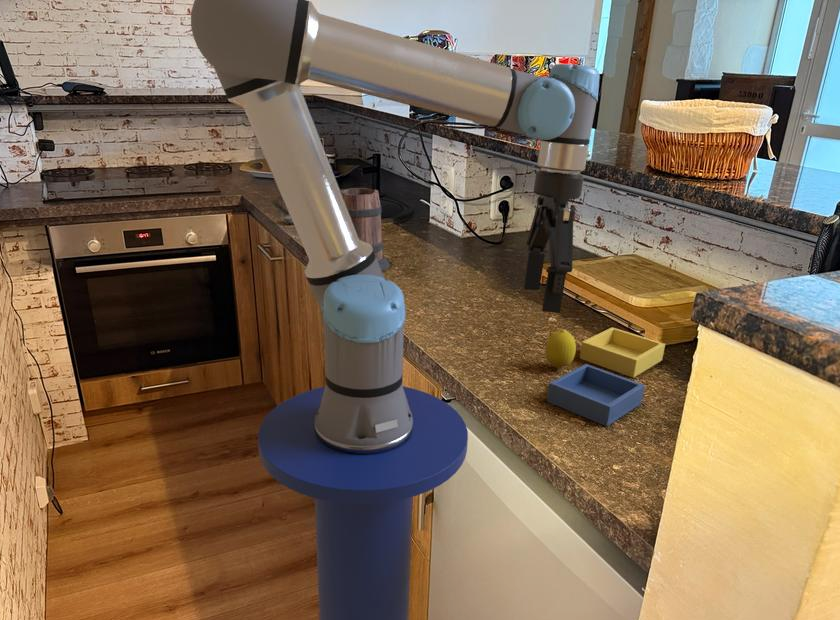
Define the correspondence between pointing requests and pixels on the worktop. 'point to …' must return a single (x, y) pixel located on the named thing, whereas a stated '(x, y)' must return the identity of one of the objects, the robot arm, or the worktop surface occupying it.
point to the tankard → (366, 218)
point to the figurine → (288, 219)
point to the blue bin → (595, 394)
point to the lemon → (560, 348)
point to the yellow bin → (622, 351)
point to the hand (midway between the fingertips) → (540, 300)
